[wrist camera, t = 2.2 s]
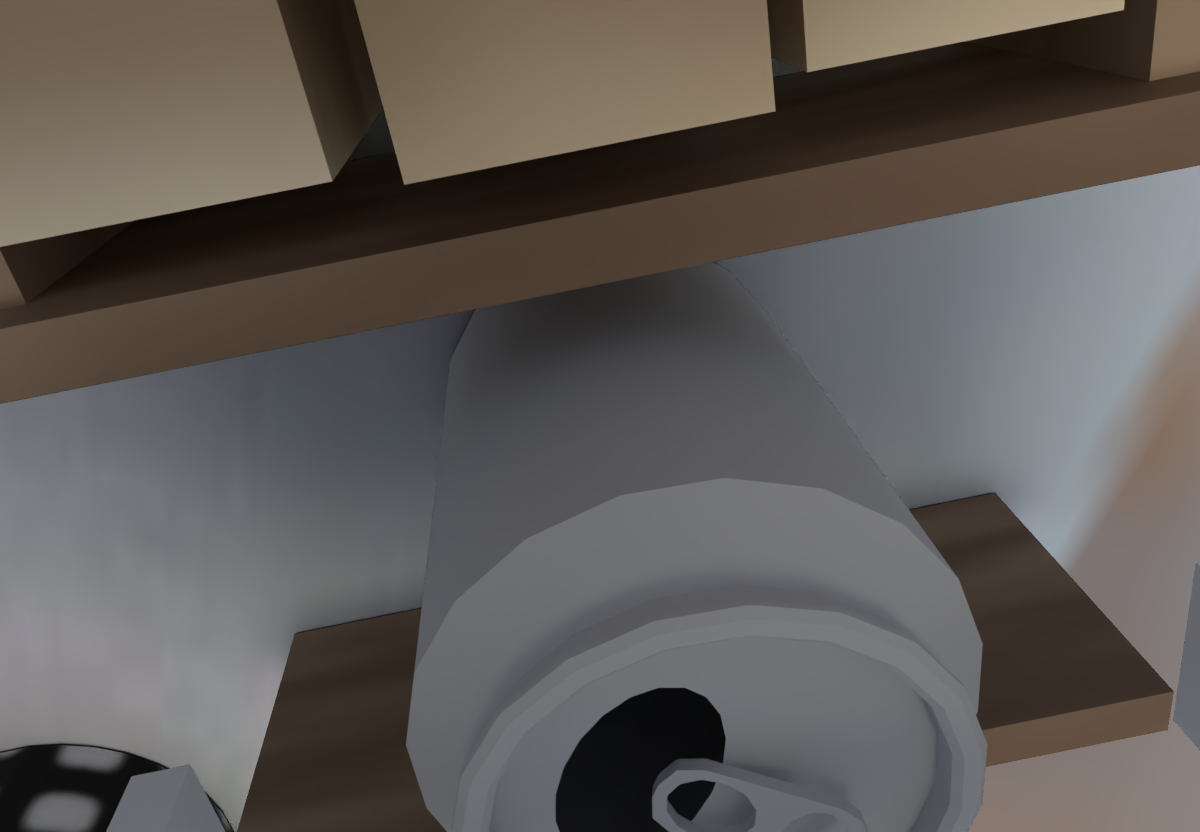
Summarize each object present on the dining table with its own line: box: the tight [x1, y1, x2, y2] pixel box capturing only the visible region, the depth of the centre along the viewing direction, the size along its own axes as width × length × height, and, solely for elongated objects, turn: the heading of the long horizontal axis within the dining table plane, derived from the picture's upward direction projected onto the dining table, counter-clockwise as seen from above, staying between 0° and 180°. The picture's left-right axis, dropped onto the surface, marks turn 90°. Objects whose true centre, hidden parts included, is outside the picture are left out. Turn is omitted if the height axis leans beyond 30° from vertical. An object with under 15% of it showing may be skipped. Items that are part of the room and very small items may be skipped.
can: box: [406, 262, 987, 832], centre depth 16 cm, size 8×8×12 cm
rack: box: [0, 0, 1200, 832], centre depth 16 cm, size 20×18×7 cm
